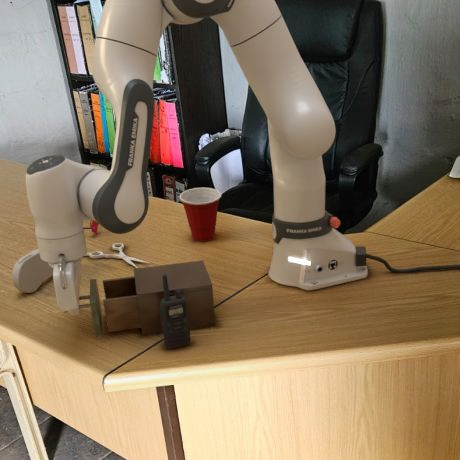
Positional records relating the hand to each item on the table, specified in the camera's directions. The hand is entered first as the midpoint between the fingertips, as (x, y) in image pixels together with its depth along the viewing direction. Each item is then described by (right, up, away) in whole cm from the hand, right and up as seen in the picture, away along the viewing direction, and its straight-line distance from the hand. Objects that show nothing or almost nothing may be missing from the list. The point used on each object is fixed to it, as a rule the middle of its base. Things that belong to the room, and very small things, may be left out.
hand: (75, 310), depth 127 cm
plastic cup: (+24, +22, +43) cm, 54 cm away
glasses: (-13, +27, +55) cm, 62 cm away
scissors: (+4, +15, +33) cm, 37 cm away
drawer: (+8, -2, +3) cm, 8 cm away
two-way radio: (+21, -7, -5) cm, 22 cm away
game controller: (-13, +8, +24) cm, 29 cm away
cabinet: (+20, -1, +5) cm, 20 cm away
